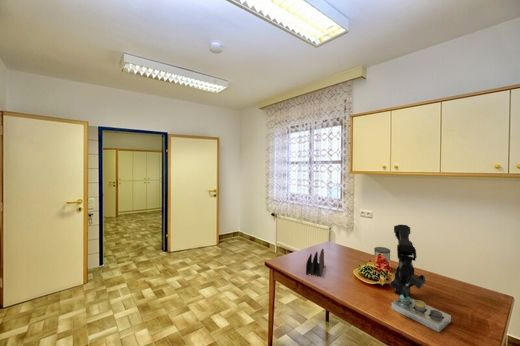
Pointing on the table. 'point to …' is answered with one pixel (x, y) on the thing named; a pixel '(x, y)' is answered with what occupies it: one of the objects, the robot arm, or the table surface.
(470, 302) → the table surface
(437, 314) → the button black
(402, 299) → the button teal
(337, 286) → the table surface
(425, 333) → the table surface
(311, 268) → the letter holder
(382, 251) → the coffee can
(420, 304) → the button mustard
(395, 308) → the console panel
